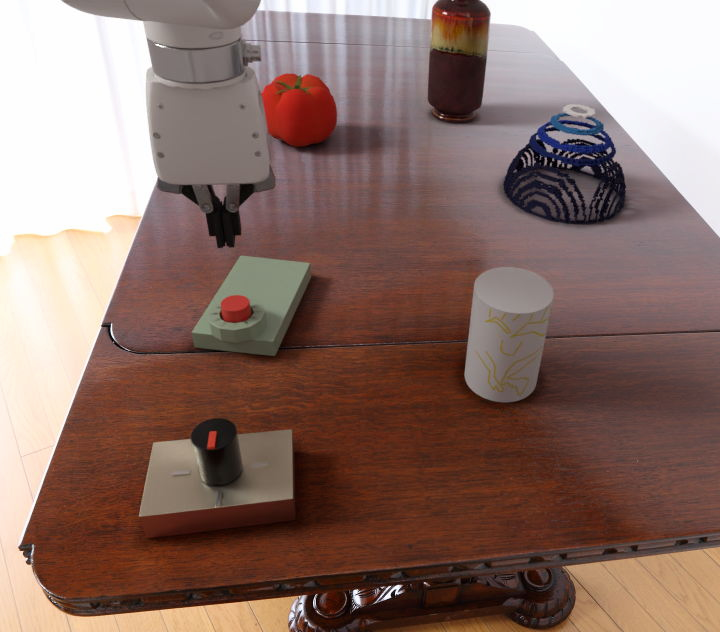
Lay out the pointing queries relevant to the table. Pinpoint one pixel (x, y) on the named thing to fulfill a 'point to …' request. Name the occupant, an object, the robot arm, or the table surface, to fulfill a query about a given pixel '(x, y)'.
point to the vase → (458, 58)
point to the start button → (235, 309)
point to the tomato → (299, 109)
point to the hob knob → (217, 451)
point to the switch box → (255, 306)
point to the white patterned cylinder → (507, 333)
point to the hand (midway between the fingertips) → (226, 240)
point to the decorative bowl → (577, 165)
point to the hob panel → (219, 487)
